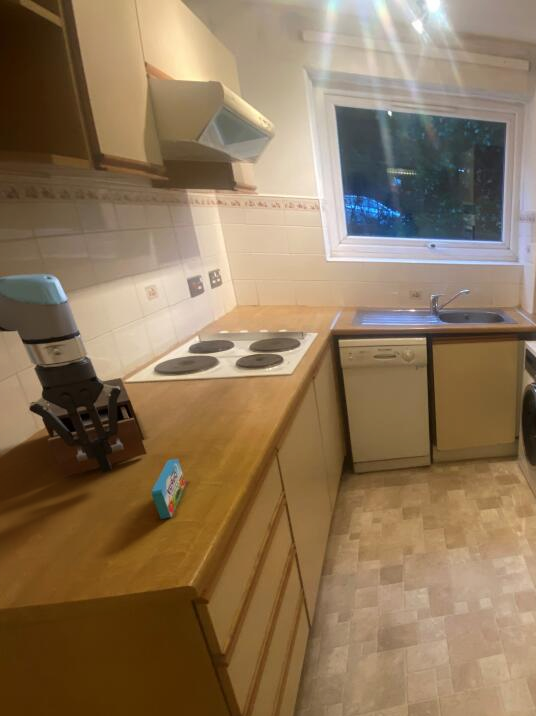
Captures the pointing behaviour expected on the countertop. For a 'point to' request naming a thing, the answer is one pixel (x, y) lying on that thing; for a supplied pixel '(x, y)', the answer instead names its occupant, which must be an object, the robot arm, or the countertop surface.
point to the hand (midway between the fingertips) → (106, 469)
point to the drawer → (122, 443)
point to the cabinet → (98, 406)
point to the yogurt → (168, 488)
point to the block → (89, 424)
